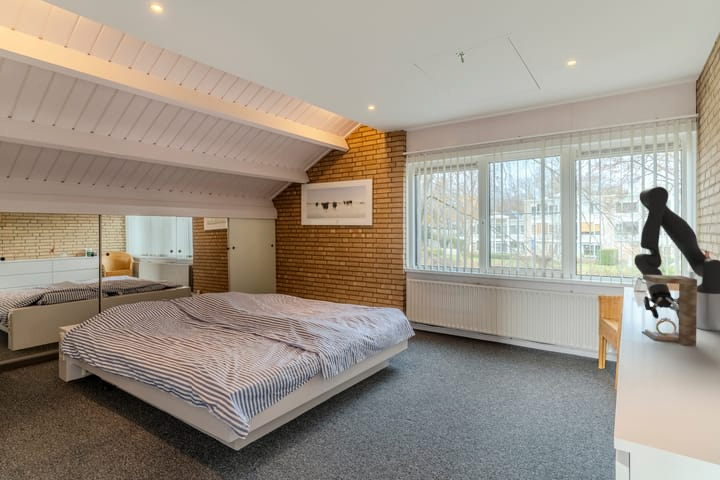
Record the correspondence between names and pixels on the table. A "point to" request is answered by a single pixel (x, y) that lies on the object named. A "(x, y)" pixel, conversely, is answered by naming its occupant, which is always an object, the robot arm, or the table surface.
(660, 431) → the table surface
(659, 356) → the table surface
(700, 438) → the table surface
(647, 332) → the seat
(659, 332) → the ring
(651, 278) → the shelf
